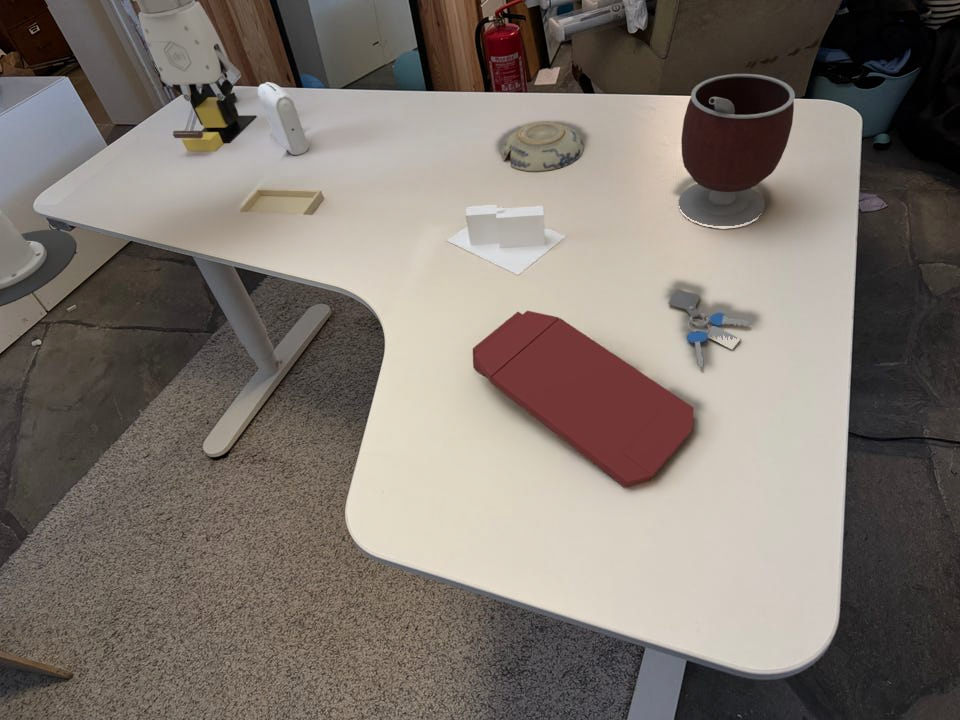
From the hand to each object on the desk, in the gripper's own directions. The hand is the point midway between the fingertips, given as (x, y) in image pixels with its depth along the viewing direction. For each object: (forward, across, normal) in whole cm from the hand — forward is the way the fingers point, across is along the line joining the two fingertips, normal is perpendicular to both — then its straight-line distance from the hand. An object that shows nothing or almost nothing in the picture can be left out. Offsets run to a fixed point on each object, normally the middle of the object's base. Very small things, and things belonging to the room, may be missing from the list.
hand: (220, 120), depth 99 cm
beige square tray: (+15, +6, -5) cm, 17 cm away
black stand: (+15, -21, +26) cm, 37 cm away
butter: (+15, -21, +18) cm, 32 cm away
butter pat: (0, 0, 0) cm, 0 cm away
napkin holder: (+16, +48, -9) cm, 51 cm away
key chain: (+16, +78, -25) cm, 83 cm away
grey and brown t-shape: (+8, -21, +21) cm, 31 cm away
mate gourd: (+16, +79, +1) cm, 81 cm away
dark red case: (+16, +62, -39) cm, 75 cm away
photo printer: (+16, -2, +20) cm, 26 cm away
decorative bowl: (+16, +50, +18) cm, 55 cm away
